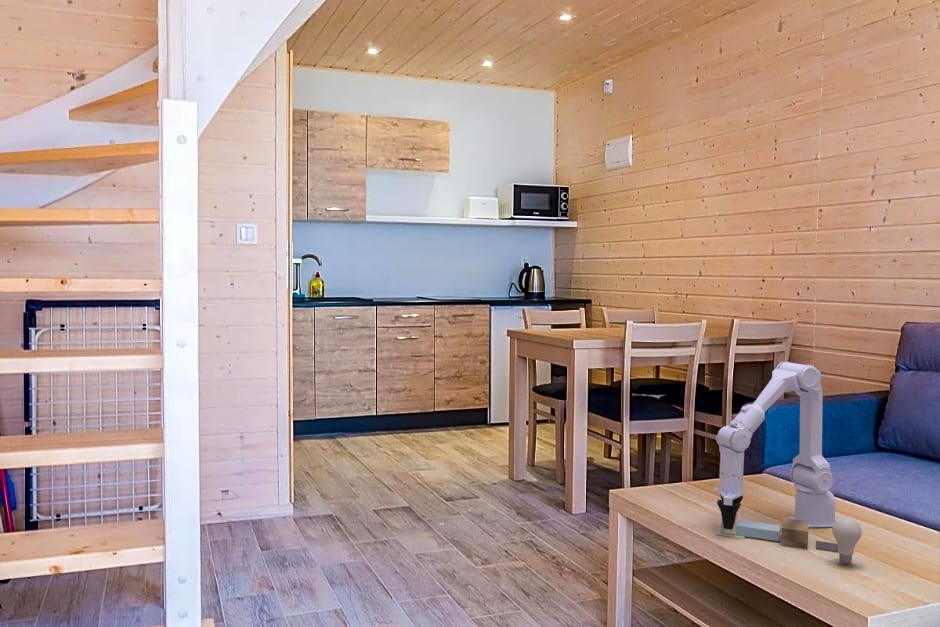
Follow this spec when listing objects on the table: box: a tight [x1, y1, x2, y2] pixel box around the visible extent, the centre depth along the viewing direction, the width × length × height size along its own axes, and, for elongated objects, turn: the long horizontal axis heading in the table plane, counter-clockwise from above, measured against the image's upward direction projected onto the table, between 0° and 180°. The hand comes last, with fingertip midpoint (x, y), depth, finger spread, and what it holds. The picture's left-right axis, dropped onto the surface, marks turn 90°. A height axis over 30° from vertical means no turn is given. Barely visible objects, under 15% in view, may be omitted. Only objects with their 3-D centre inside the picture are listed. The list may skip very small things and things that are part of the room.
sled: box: [721, 510, 782, 542], centre depth 194 cm, size 14×5×6 cm, turn 66°
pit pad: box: [815, 540, 839, 554], centre depth 187 cm, size 6×6×1 cm
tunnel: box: [780, 517, 809, 551], centre depth 190 cm, size 6×9×4 cm
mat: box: [714, 525, 746, 539], centre depth 197 cm, size 7×7×1 cm
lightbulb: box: [831, 516, 863, 566], centre depth 176 cm, size 6×6×11 cm
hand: (729, 525), depth 197 cm, fingers closed on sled, 5 cm apart
